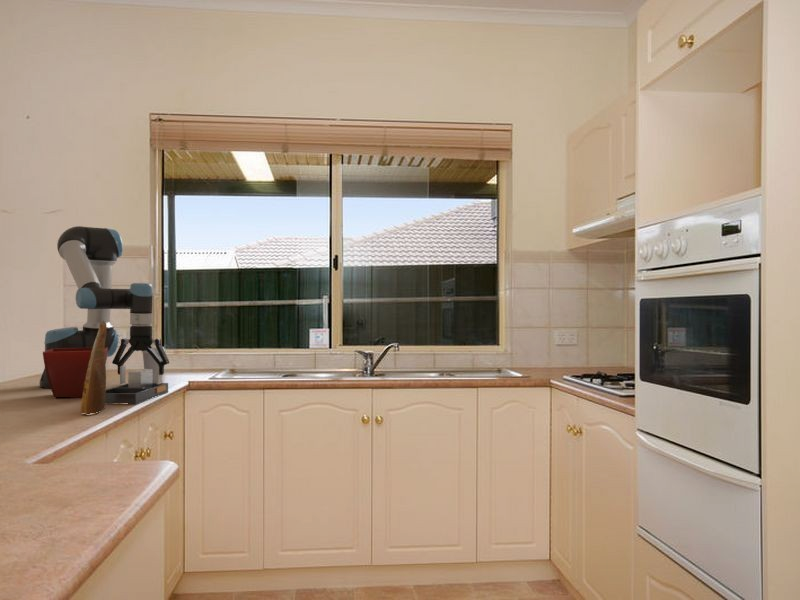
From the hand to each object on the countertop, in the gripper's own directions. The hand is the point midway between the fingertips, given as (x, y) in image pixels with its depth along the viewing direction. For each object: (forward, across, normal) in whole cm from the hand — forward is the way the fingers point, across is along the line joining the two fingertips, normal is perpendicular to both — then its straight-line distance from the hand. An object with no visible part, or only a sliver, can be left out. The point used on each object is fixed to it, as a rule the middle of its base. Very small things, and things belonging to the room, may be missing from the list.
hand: (140, 383), depth 225 cm
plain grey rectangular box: (+3, 0, 0) cm, 3 cm away
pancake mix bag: (+4, +1, -34) cm, 34 cm away
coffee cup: (+4, -10, +35) cm, 37 cm away
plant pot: (+4, -22, -2) cm, 23 cm away
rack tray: (+4, 0, -7) cm, 8 cm away
